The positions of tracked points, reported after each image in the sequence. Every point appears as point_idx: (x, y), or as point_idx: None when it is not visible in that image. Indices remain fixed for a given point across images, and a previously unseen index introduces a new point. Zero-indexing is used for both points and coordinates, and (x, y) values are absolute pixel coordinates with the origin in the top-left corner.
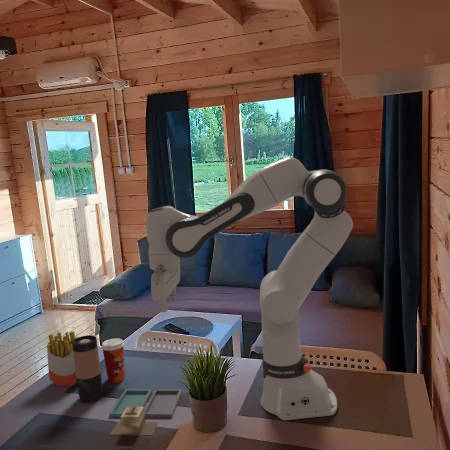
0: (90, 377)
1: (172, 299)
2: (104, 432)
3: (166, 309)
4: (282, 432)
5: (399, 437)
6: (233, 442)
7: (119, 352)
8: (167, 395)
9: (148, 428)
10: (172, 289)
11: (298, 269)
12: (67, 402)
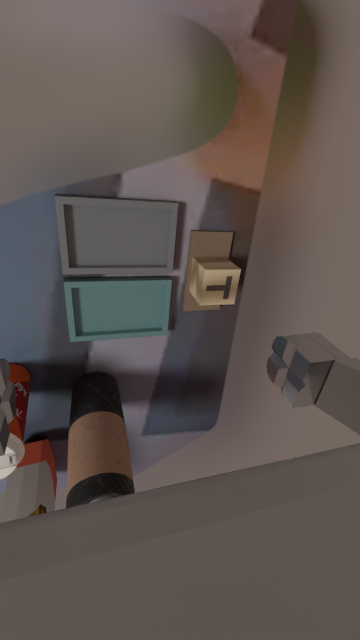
0: (120, 418)
1: (1, 387)
2: (205, 321)
3: (328, 341)
4: None
5: None
6: (284, 12)
7: None
8: (77, 235)
9: (212, 245)
10: (278, 490)
11: None
12: None
